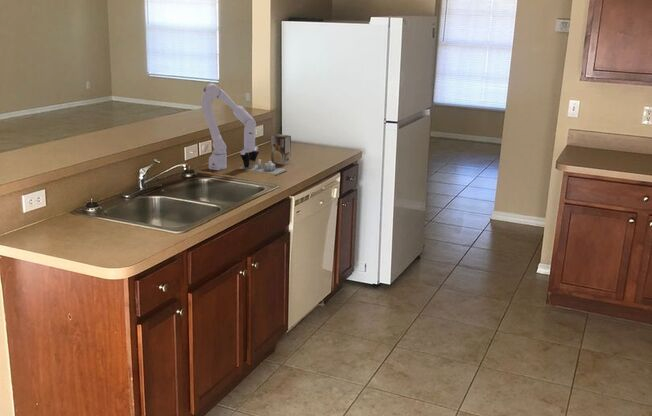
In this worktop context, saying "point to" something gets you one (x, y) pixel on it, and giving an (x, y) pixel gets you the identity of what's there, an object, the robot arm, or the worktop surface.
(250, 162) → the loose gear
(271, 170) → the gear board
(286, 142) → the coffee box
